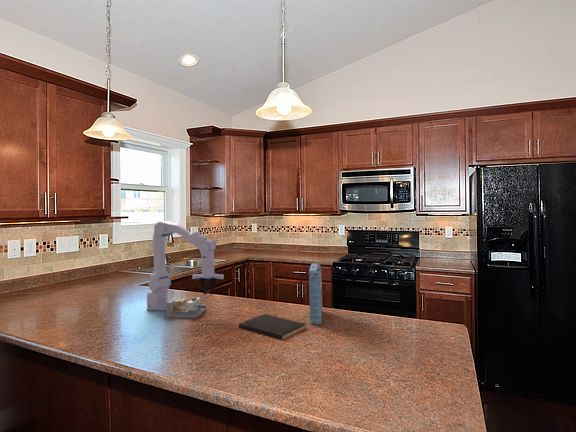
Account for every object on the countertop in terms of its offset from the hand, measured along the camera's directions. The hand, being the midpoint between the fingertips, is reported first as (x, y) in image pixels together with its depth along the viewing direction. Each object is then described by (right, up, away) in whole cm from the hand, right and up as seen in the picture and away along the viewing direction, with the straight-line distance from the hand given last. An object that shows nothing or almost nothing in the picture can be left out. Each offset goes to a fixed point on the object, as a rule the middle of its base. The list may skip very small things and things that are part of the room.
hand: (208, 294), depth 163 cm
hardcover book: (+31, -10, -20) cm, 38 cm away
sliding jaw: (-7, -8, +1) cm, 10 cm away
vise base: (-11, -10, +1) cm, 15 cm away
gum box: (+50, -9, -7) cm, 51 cm away
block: (-14, -8, +1) cm, 16 cm away
